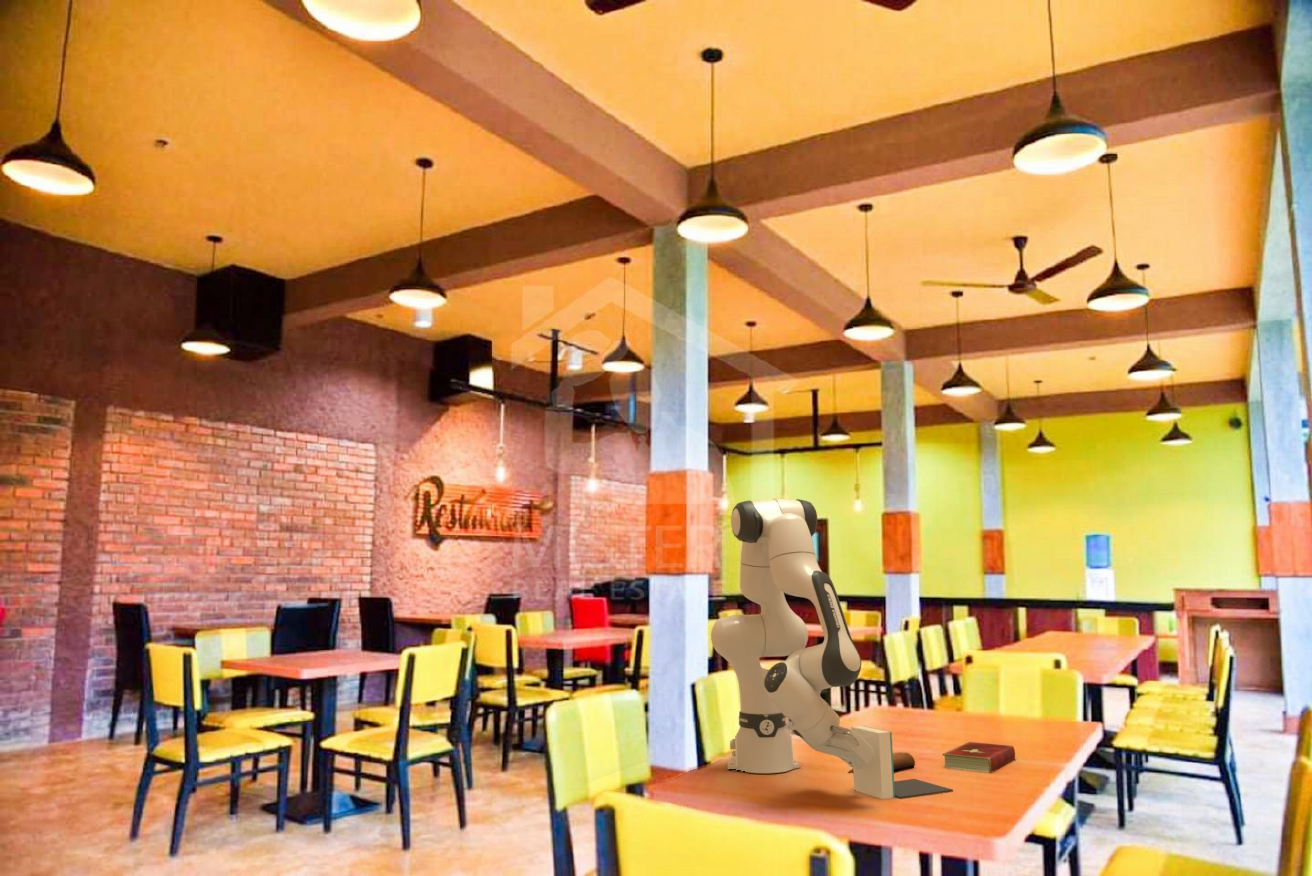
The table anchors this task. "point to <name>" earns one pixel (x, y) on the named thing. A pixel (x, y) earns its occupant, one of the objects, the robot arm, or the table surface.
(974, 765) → the hardcover book
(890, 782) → the cream rectangular block
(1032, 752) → the table surface
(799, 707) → the robot arm
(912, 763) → the sweet potato
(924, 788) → the mat
